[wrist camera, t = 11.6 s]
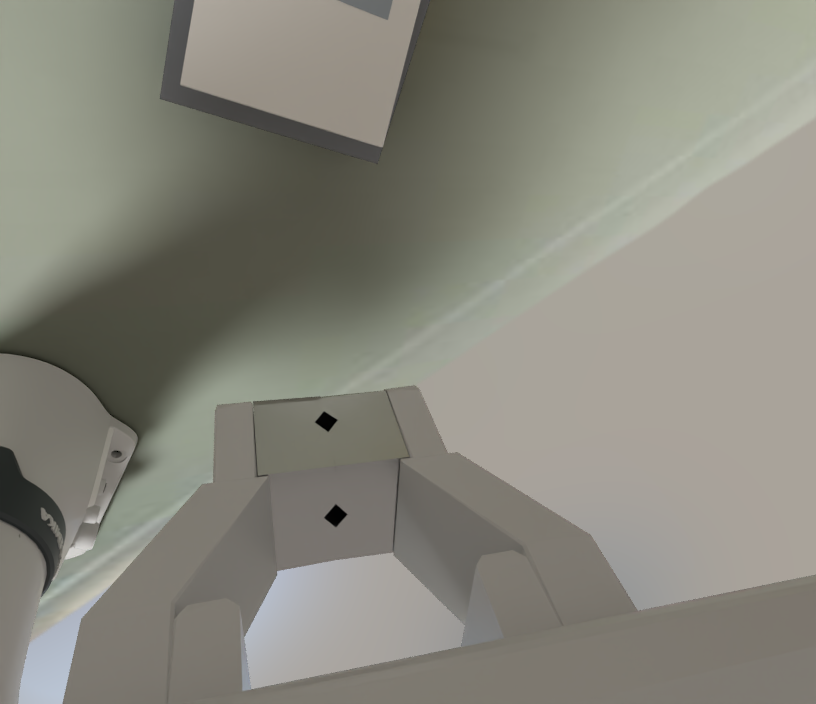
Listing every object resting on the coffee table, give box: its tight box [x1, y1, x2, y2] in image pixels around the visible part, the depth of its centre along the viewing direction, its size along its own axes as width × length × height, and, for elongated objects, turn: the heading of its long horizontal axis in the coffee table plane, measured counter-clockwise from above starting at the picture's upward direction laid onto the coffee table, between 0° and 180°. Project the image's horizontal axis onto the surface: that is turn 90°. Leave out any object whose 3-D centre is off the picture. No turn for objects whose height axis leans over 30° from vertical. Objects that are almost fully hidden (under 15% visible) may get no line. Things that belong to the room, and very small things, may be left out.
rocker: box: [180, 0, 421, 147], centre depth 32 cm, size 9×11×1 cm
